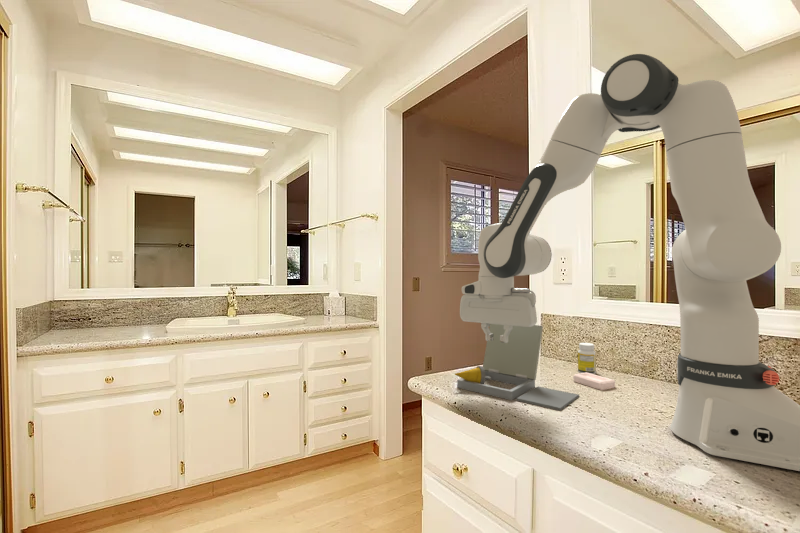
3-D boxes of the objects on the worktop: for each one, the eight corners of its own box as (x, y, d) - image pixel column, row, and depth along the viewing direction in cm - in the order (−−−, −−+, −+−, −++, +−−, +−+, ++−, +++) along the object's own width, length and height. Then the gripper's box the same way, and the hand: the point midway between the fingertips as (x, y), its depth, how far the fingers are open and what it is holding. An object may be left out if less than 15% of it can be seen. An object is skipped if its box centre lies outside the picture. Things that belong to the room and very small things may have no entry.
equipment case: (546, 381, 110) (546, 324, 110) (511, 400, 94) (511, 334, 94) (496, 371, 120) (495, 319, 120) (457, 387, 104) (457, 327, 104)
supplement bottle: (582, 369, 121) (582, 341, 121) (598, 373, 118) (598, 344, 118) (574, 372, 118) (574, 343, 118) (591, 376, 115) (590, 346, 115)
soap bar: (586, 380, 112) (586, 371, 112) (616, 389, 103) (616, 380, 103) (572, 382, 109) (572, 373, 109) (601, 392, 101) (601, 382, 101)
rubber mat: (578, 397, 96) (578, 394, 96) (560, 410, 87) (560, 408, 87) (537, 388, 103) (537, 386, 103) (516, 400, 94) (516, 398, 94)
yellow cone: (488, 367, 108) (452, 362, 106) (496, 368, 103) (458, 363, 101) (486, 388, 107) (450, 384, 105) (495, 389, 102) (457, 385, 100)
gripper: (540, 288, 100) (541, 344, 100) (469, 286, 113) (469, 335, 113) (529, 289, 95) (530, 348, 95) (456, 287, 108) (456, 339, 108)
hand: (496, 341), depth 104 cm, fingers open, 3 cm apart
